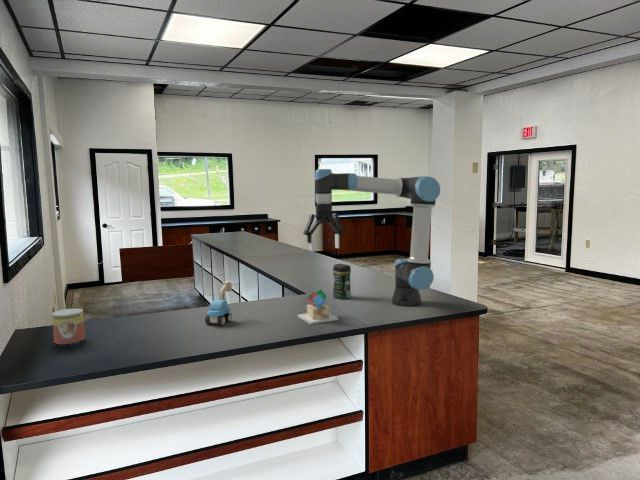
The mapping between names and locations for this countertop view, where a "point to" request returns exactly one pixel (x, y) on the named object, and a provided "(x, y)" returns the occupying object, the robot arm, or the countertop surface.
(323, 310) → the maple brick
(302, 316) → the plate
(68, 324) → the canned food
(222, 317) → the toy excavator
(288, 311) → the countertop surface
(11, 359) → the countertop surface
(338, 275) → the coffee jar
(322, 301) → the building blocks
